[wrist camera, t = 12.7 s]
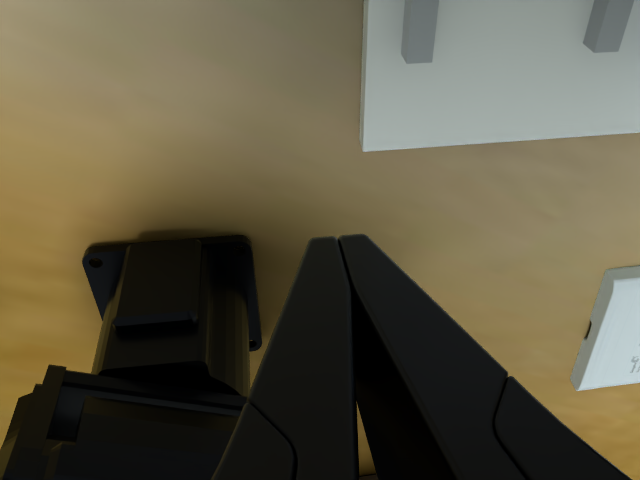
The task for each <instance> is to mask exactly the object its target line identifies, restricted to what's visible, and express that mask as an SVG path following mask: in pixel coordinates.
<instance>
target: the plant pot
mask: <svg viewBox="0 0 640 480" xmlns="http://www.w3.org/2000/svg"><path fill="white" fill-rule="evenodd" d="M359 480H378V477H377V475H369V476H364V477H359Z"/></svg>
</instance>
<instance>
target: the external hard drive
mask: <svg viewBox="0 0 640 480" xmlns="http://www.w3.org/2000/svg"><path fill="white" fill-rule="evenodd" d="M590 320H591V322H592V324H591V327H590V331H589V334H588V336H587V337H585V338H584V339H583V341H582V344H581V347H580V350H579V353H578V356H577V359H576V362H575V365H574V368H573V371H572V374H571V377H570V380H571V382H572V384H573V386H574V388H575V389H576V391H580V390H587V389H595V388H601V387H609V386H617V385H625V384H633V383H640V265H638V266H631V267H621V268H614V269H607V270H606V271H605V274H604V277H603V280H602V283H601V286H600V289H599V292H598V295H597V298H596V301H595V304H594V307H593V310H592V314H591V317H590Z"/></svg>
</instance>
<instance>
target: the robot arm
mask: <svg viewBox="0 0 640 480" xmlns="http://www.w3.org/2000/svg"><path fill="white" fill-rule="evenodd" d="M237 246H241V247H243V249H240V250H237V249H235V247H237ZM92 258H98V259H100V260H101V261H95V260H93V259H92ZM82 263H83V267H84V270H85V272H86V275H87V278H88V281H89V284H90V287H91V289H92V292H93V295H94V298H95V301H96V304H97V307H98V309H99V312H100V315H101V318H102V321H103V323H102V327H101V332H100V336H99V341H98V345H97V349H96V354H95V358H94V363H93V367H92V372H91V374H90V373H83V372H76V371H69V370H66V367H63V366H56V365H49V366H48V369H47V372H46V375H45V378H44V381H43V384H36V385H35V387H34V390H33V393H30V394H28V395H25V396H22V397H20V398H19V399H18V402H17V405H16V408H15V411H14V414H13V417H12V420H11V423H10V426H9V429H8V432H7V435H6V437H5V440H4V443H3V445H2V447H1V450H0V480H359V455H358V429H357V404H358V408H359V411H360V415H361V419H362V422H363V426H364V430H365V433H366V437H367V440H368V444H369V448H370V451H371V455H372V459H373V462H374V466H375V470H376V473H377V477H378V480H632V479H631V478H629V477H628V476H627V475H626V474H624V473H623V472H622V471H621V470H619V469H618V468H617V467H616V466H614V465H613V464H612V463H611V462H609V461H608V460H607V459H605V458H604V457H603V456H602V455H600V454H599V453H598V452H597V451H596V450H594V449H593V448H592V447H591V446H590V445H588V444H587V443H586V442H585V441H583V440H582V439H581V438H580V437H579V436H577V435H576V434H575V433H574V432H573V431H571V430H570V429H569V428H568V427H567V426H565V425H564V424H563V423H562V422H561V421H560V420H559V419H557V418H556V417H555V416H554V415H553V414H552V413H551V412H550V411H549V410H548V409H547V408H545V407H544V406H543V405H542V404H541V403H540V402H539V401H538V400H537V399H536V398H535V397H533V396H532V395H531V394H530V393H529V392H528V391H527V390H526V389H525V388H524V387H523V386H522V385H521V384H520V383H519V382H518V381H517V380H516V379H515V378H514V377H512V376H509V377H508V372H507V371H506V370H505V369H504V368H503V367H502V366H501V365H500V364H499V363H498V362H497V361H496V360H495V359H494V358H493V357H492V356H491V355H490V354H489V353H488V352H487V351H486V350H484V349H483V348H482V347H481V346H480V345H479V344H478V343H477V342H476V341H475V340H474V339H473V338H472V337H471V336H470V335H469V334H468V333H467V332H466V331H465V330H464V329H463V328H462V327H461V326H460V325H459V324H458V323H457V322H456V321H455V320H453V319H452V318H451V317H450V316H449V315H448V314H447V313H446V312H445V311H444V310H443V309H442V308H441V307H440V306H439V305H438V304H437V303H436V302H435V301H434V300H433V299H432V298H431V297H430V296H429V295H428V294H427V293H426V292H425V291H424V290H422V289H421V288H420V287H419V286H418V285H417V284H416V283H415V282H414V281H413V280H412V279H411V278H410V277H409V276H408V275H407V274H406V273H405V272H404V271H403V270H402V269H401V268H400V267H399V266H398V265H397V264H396V263H395V262H394V261H393V260H391V259H390V258H389V257H388V256H387V255H386V254H385V253H384V252H383V251H382V250H381V249H380V248H379V247H378V246H377V245H376V244H375V243H374V242H373V241H372V240H371V239H370V238H369V237H368V236H366V235H364V234H353V235H342V236H340V237H339V238H338V239H337V238H336V237H334V236H328V237H316V238H312V239H310V240H309V242H308V244H307V247H306V249H305V252H304V255H303V257H302V260H301V262H300V265H299V267H298V270H297V272H296V275H295V277H294V280H293V283H292V285H291V288H290V290H289V293H288V295H287V298H286V300H285V303H284V305H283V308H282V311H281V313H280V316H279V318H278V321H277V323H276V326H275V328H274V331H273V333H272V336H271V339H270V341H269V344H268V346H267V349H266V351H265V354H264V356H263V359H262V362H261V364H260V367H259V369H258V372H257V374H256V377H255V379H254V382H253V384H252V387H251V390H250V360H249V352H250V351H256V350H258V349H259V348H260V347H261V346H262V335H261V325H260V316H259V307H258V298H257V289H256V280H255V271H254V261H253V252H252V244H251V241H250V239H248V238H247V237H245V236H243V235H231V236H219V237H206V238H194V239H181V240H169V241H156V242H144V243H131V244H119V245H106V246H94V247H90V248H88V249H87V250H86V251H85V253H84V256H83V260H82ZM249 340H253V341H249ZM356 400H357V403H356Z"/></svg>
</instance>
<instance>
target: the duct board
mask: <svg viewBox="0 0 640 480" xmlns="http://www.w3.org/2000/svg"><path fill="white" fill-rule="evenodd" d="M626 133H640V0H364V12H363V42H362V72H361V102H360V132H359V141H360V144H361V148H362V151H363V152H368V151H383V150H397V149H411V148H426V147H440V146H454V145H468V144H483V143H497V142H511V141H526V140H540V139H554V138H569V137H583V136H597V135H611V134H626Z"/></svg>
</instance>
